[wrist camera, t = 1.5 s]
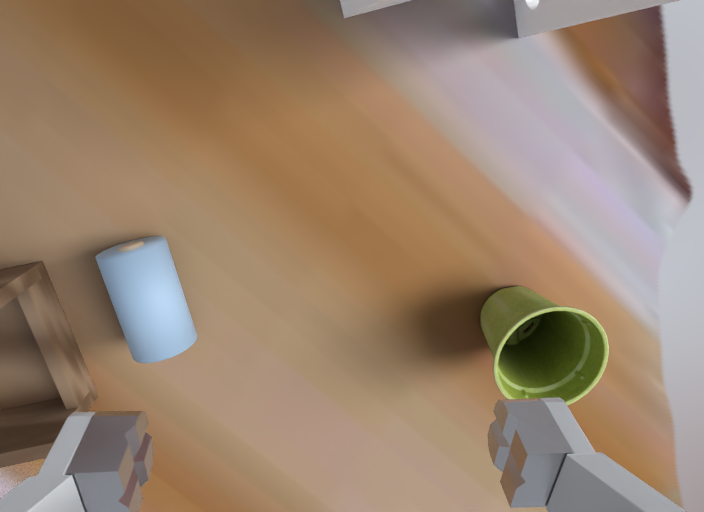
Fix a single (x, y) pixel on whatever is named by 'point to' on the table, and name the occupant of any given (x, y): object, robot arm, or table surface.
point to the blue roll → (147, 298)
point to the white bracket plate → (535, 11)
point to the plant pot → (542, 346)
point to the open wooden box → (36, 366)
